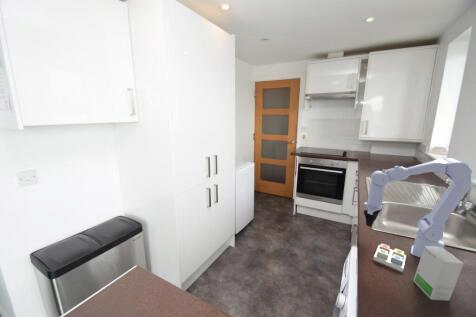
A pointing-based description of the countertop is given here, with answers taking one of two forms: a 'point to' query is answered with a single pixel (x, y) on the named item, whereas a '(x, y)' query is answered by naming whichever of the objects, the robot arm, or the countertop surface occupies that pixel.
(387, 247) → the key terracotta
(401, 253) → the key mustard
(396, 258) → the key slate
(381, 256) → the key sage
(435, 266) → the skincare box
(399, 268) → the keypad board
